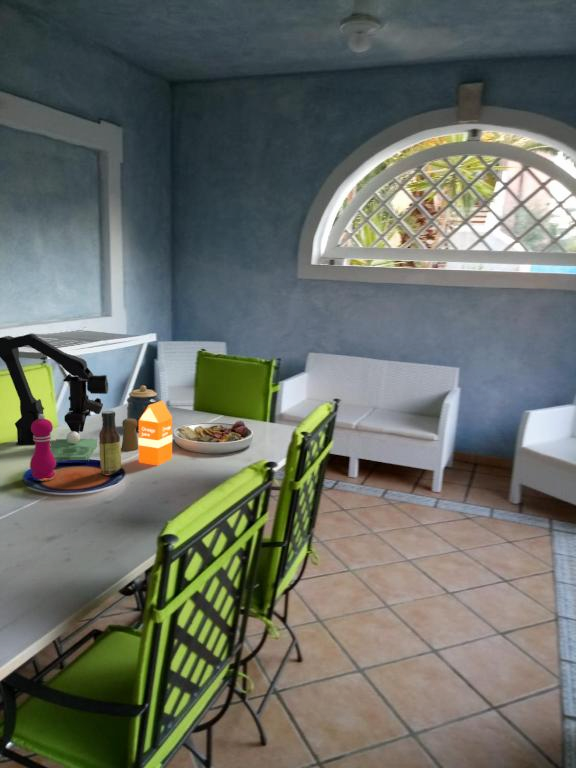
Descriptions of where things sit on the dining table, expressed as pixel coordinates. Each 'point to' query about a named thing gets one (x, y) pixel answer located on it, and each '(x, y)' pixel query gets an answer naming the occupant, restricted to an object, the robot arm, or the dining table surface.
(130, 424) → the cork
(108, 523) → the dining table surface
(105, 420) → the sauce bottle
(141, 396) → the canister
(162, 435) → the orange juice
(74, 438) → the ball
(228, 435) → the bowl
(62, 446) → the green flat block
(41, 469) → the pepper mill
